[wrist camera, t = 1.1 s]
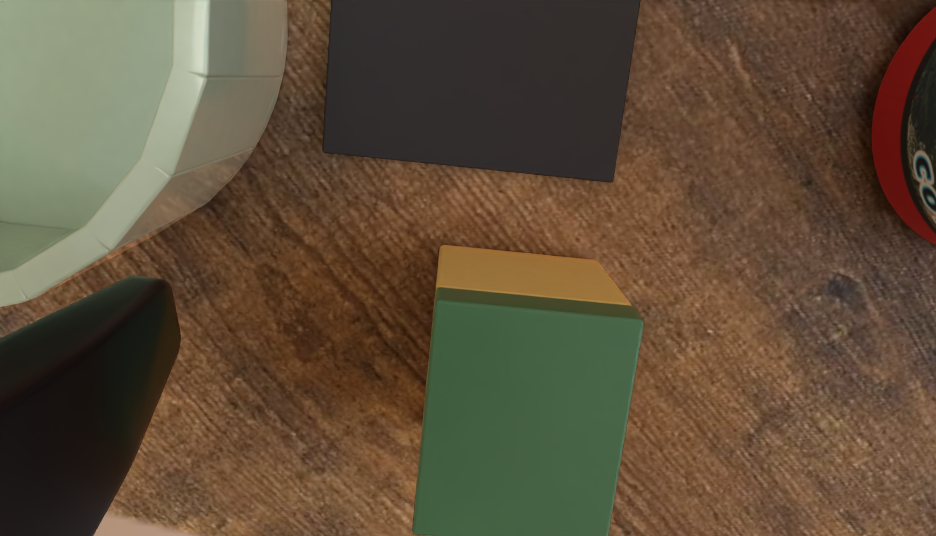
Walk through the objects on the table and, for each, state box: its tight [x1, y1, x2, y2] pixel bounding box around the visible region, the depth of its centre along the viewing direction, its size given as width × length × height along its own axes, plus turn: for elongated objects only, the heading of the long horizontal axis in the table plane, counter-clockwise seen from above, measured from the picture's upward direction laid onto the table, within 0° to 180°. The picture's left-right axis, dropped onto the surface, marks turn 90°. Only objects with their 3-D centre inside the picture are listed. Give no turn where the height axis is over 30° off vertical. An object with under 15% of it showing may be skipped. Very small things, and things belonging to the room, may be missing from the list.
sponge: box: [412, 245, 644, 536], centre depth 18 cm, size 5×4×5 cm
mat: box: [322, 0, 640, 182], centre depth 18 cm, size 7×7×1 cm
